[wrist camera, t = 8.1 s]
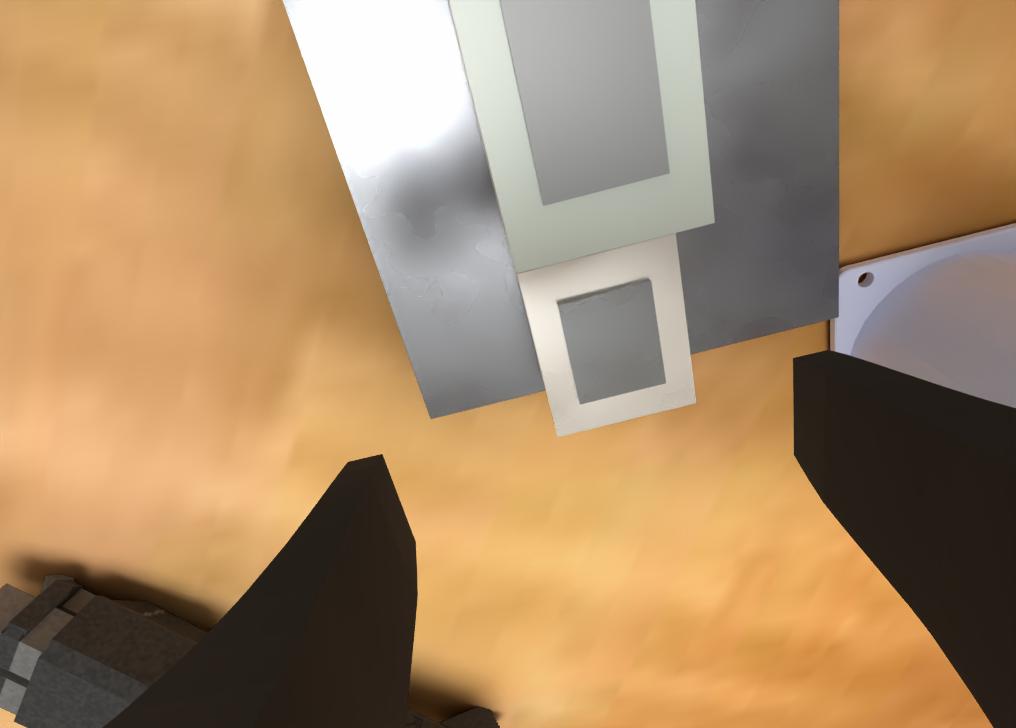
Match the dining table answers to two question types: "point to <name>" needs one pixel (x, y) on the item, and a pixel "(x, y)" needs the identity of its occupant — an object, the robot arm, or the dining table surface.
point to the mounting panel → (462, 218)
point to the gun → (102, 657)
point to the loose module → (588, 121)
